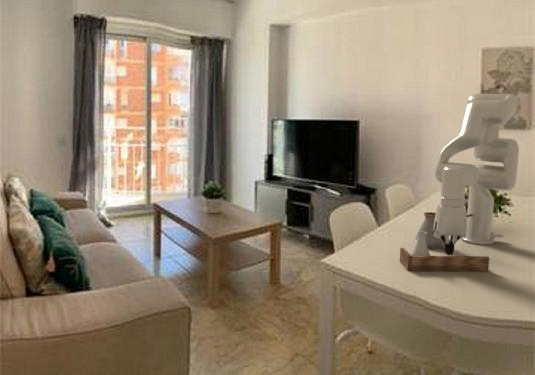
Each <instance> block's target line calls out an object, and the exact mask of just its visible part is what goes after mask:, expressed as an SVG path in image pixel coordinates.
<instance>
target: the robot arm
mask: <svg viewBox="0 0 535 375" xmlns="http://www.w3.org/2000/svg"><path fill="white" fill-rule="evenodd" d="M517 109H518V99H517V97H516V95H515V94H512V93H477V94H473V95H471V96H469V97H468V99H467V104H466V107H465V110H464V112H463V117H462V121H461V124H460V128H459V132H458V135H457V136H456V137H454V138H453V139H452V140H451V141H449V143H447V144H445V146H444V147H443V149H441V152H440V153H439V156H438V158H437V162H436V167H435V171H434V173H435V174H434V176H435V179H436V181H437V182H439V183H441V188H440V189H441V191H440V204H438V205H437V207H436V211H435V213H436V214H435V220H434V231H435V233H434V237H436V238H439V239H442V240H443V241H444V244H443V251H444V253H445V254H446V256H454V255H453V254H454V252H455V245H456V244H457V242H458V241H459V240H460V239H461V241H462V242H465V243H469V244H474V245H480V246H481V245H483V246H484V245H485V246H488V245H493V244H494V243H495V241H496V240H495V238H503V237H504V233H503V232H497V231H493V230H492V228H493V227H492V226H493V225H492V224H493V218H494V217H493V216H494V215H493V214H494V207H495V206H494V204H495V199H494V196H493V195H492V193H491V191H490V190H495V191H505V192H507V191H509V192H510V191H512V190H513V189H514V188H516V183H517V177H518V176H517V174H518V166H519V165H518V164H519V153H520V151H519V150H520V149H519V144H518V142H517V141H516V140H515V139H513V138H505V137H504V138H501V137H499V136H500V125H503V124H506V123H508V121H509V120H511V118H512V117H513V116H514V115H515V113H516V112H517ZM470 149H473V156H474V159H475V160H476V161H480V162H489V163H501V164H503V165H493V164H472V163H471V164H470V163H461V162H450V160H451V159H452V158H453V157H454V156H455V155H457V154H459V153H461V152H464V151H467V150H470ZM466 187H468V198H466V196H465V195H466V194H465V193H466ZM466 204H467V208H466V206H465V205H466ZM469 214H473V215H474V216H473V218H472V216H471V217H470V216H469V217H468V218H467V215H469ZM474 217H475V219H474Z"/></svg>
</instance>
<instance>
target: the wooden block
mask: <svg viewBox="0 0 535 375" xmlns="http://www.w3.org/2000/svg"><path fill="white" fill-rule="evenodd" d="M399 249H400V250H399V262H400V264H401V265H402V266H403V267H404V268H405V269H406V271H408V272H468V273H469V272H472V273H473V272H477V273H478V272H479V273H482V272H484V273H488V272H489V265H490V257H489V256H487V255H486V256H485V255H483V256H481V255H430V256H411V255H410V254H411V253H410V252H409V251H408V250H407V249H406V248H405V247H400V248H399Z"/></svg>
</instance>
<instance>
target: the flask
mask: <svg viewBox="0 0 535 375" xmlns="http://www.w3.org/2000/svg"><path fill="white" fill-rule="evenodd" d="M417 234H418V236H417V240H415V244H414V246H413V248H412V250H411V253H409V254H410V255H411V256H431V255H430V251H429V249H428V248H427V244H426V235H427V233H426V232H424V231H419V230H417V231H416V235H417Z"/></svg>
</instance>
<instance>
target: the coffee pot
mask: <svg viewBox="0 0 535 375" xmlns="http://www.w3.org/2000/svg"><path fill="white" fill-rule="evenodd" d="M435 214H436V212H432V211H429V212H428V211H427V212H424V213H423V215H424V218H425V219H424V221H422V224H421V226H420V227H419V229H418V231H424V232H426V233H427V235H426V244H427V247H428V248H429V249H439V248H440V247H442V246H444V241H443V240H442V239H439V238H436V237H434V233H435V231H434V220H435ZM469 216H470V217H471V216H472V218H473V216H474V215H473V214H469V215H467V218H468V217H469ZM474 219H475V217H474ZM417 236H418V234H417V233H416V235H415V241H417Z"/></svg>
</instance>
